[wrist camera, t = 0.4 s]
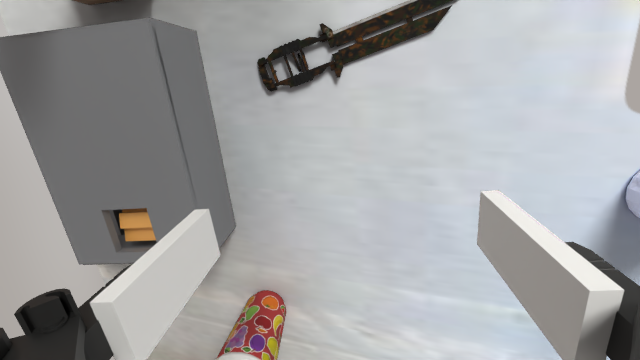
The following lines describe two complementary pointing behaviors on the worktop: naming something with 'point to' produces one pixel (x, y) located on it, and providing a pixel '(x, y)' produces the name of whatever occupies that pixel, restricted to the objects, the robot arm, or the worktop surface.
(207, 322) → the worktop surface
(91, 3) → the square wooden socket
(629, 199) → the soap bottle
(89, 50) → the box
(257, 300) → the smoothie
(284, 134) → the worktop surface
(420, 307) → the worktop surface
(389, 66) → the worktop surface
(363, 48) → the knife
